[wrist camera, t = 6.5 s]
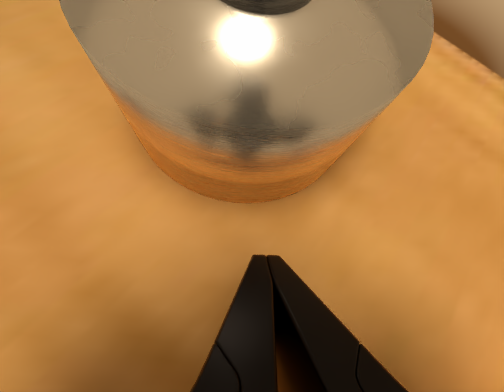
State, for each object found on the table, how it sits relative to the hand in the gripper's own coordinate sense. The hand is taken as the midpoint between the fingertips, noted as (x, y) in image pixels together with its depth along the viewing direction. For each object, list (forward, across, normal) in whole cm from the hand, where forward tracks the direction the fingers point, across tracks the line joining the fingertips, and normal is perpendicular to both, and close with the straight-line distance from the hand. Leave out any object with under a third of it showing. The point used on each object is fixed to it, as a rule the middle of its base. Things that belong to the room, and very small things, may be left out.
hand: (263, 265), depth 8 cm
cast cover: (+13, 0, -4) cm, 13 cm away
